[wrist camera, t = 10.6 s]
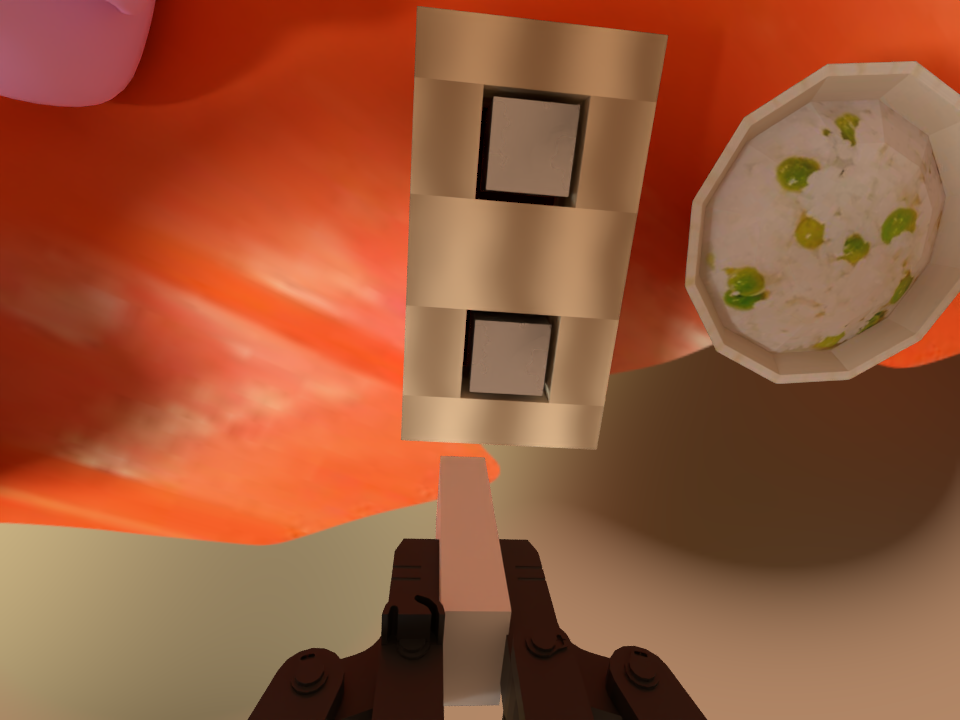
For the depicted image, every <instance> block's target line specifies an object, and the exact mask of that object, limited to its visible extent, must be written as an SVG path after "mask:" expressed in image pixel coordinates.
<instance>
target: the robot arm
mask: <svg viewBox="0 0 960 720" xmlns="http://www.w3.org/2000/svg"><path fill="white" fill-rule="evenodd" d="M500 694H501V695H502V703H503V718H502V720H707V719H706V718H705V716H704V715H703V713H702V712H701V711H700V709H699V708H698V707H697V705H696V704H695V703H694V701H693V700H692V699H691V697H690V696H689V695H688V693H687V692H686V691H685V689H684V688H683V687H682V685H681V684H680V682H679V681H678V680H677V679H676V677H675V676H674V674H673V673H672V672H671V670H670V669H669V668H668V666H667V665H666V664H665V663H664V662H663V661H662V660H661V659H660V658H659V657H658V656H656V655H655V654H653V653H651V652H650V651H648V650H646V649H643V648H640V647H636V646H623V647H621V648H619V649H617V650H615V651H614V653H613V655H612V656H611V658H607V657H604V656H600V655H597V654H594V653H590V652H588V651H585V650H583V649H580V648H579V647H577V646H576V645H574V644H572V643H571V641H570V639H569V638H568V636H567V634H566V633H565V632H564V631H563V630H562V629H560V628H559V625H558V623H557V619H556V615H555V612H554V608H553V605H552V601H551V597H550V594H549V590H548V586H547V583H546V581H545V576H544V572H543V570H542V565H541V561H540V558H539V554H538V552H537V550H536V549H535V548H534V547H533V546H532V545H531V543H530V542H529V541H528V540H508V539H507V540H506V539H499V537H498V531H497V526H496V520H495V514H494V508H493V503H492V497H491V491H490V485H489V479H488V473H487V468H486V462H485V458H483V457H455V456H441V458H440V472H439V487H438V502H437V518H436V539H403V541H402V542H401V544H400V545H399V546H398V547H397V549H396V550H395V554H394V562H393V570H392V578H391V586H390V594H389V602H388V603H387V604H386V605H385V608H384V610H383V613H382V632H381V637H380V639H379V640H378V641H377V642H376V643H375V644H374V645H373V646H371V647H370V648H368V649H367V650H365V651H363V652H361V653H358V654H356V655H353V656H350V657H346V658H343V659H340V658H339V657H338V656H337V655H336V654H335V653H334V652H332V651H329V650H327V649H324V648H311V649H308V650H304V651H301V652H299V653H297V654H295V655H294V656H292V657H290V658H289V659H288V660H287V661H286V662H285V663H284V664H283V665H282V666H281V667H280V669H279V670H278V671H277V673H276V675H275V676H274V678H273V679H272V681H271V683H270V685H269V686H268V688H267V689H266V691H265V693H264V694H263V696H262V697H261V699H260V701H259V702H258V704H257V705H256V707H255V709H254V711H253V712H252V714H251V715H250V717H249V718H248V720H444V706H475V705H499V702H500Z"/></svg>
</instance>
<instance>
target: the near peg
mask: <svg viewBox="0 0 960 720" xmlns="http://www.w3.org/2000/svg"><path fill="white" fill-rule="evenodd" d="M579 111H580V105H572V104H563V103H553V102H543V101H533V100H524V99H514V98H504V97H495V96H494V97H493V99H492V102H491V104H490V107H489V109H488V111H487V114H486V122H485V135H484V148H483V161H482V174H481V187H480V191H485V192H496V193H507V194H519V195H530V196H541V197H568V195H569V188H570V180H571V172H572V165H573V157H574V149H575V142H576V134H577V126H578V119H579Z"/></svg>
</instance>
